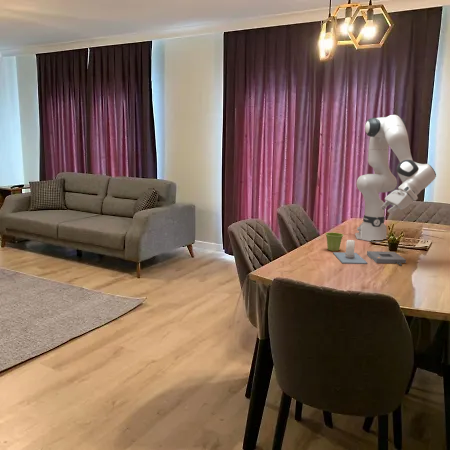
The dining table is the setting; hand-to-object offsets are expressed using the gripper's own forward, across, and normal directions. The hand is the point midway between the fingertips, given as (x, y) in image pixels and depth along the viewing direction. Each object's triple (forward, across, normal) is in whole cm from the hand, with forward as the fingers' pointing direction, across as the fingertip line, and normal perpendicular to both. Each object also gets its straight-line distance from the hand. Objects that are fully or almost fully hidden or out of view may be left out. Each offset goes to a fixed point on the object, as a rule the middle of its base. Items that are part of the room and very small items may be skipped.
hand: (385, 210), depth 234 cm
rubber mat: (+29, +3, +6) cm, 29 cm away
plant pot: (+32, -15, +3) cm, 36 cm away
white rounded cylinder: (+28, +3, +5) cm, 29 cm away
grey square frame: (+16, +5, +18) cm, 25 cm away
